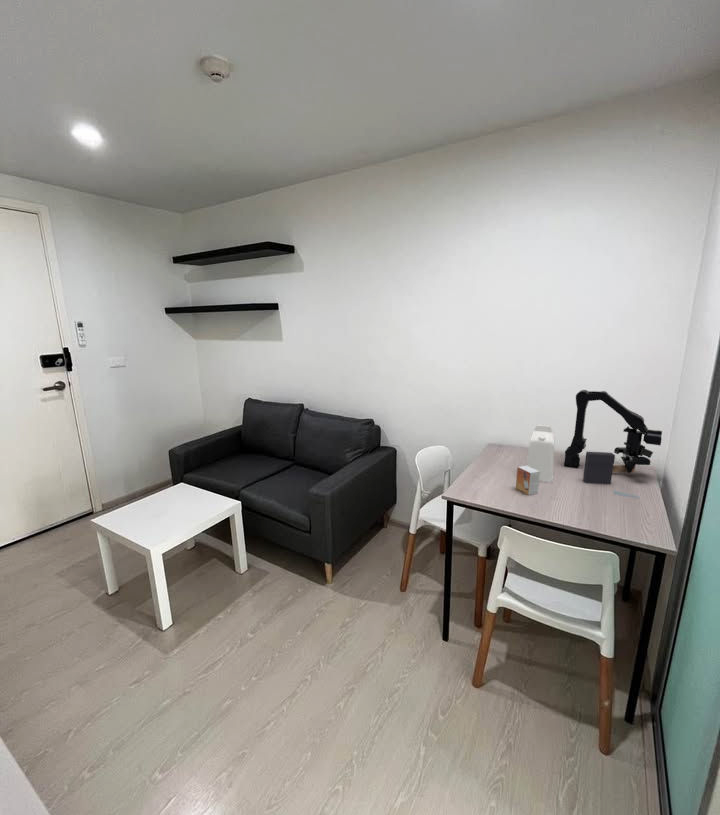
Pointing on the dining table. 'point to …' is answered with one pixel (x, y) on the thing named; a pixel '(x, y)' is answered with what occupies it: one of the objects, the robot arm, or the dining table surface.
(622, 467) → the bar
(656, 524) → the dining table surface
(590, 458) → the calculator
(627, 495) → the mat
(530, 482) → the small box
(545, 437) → the milk
